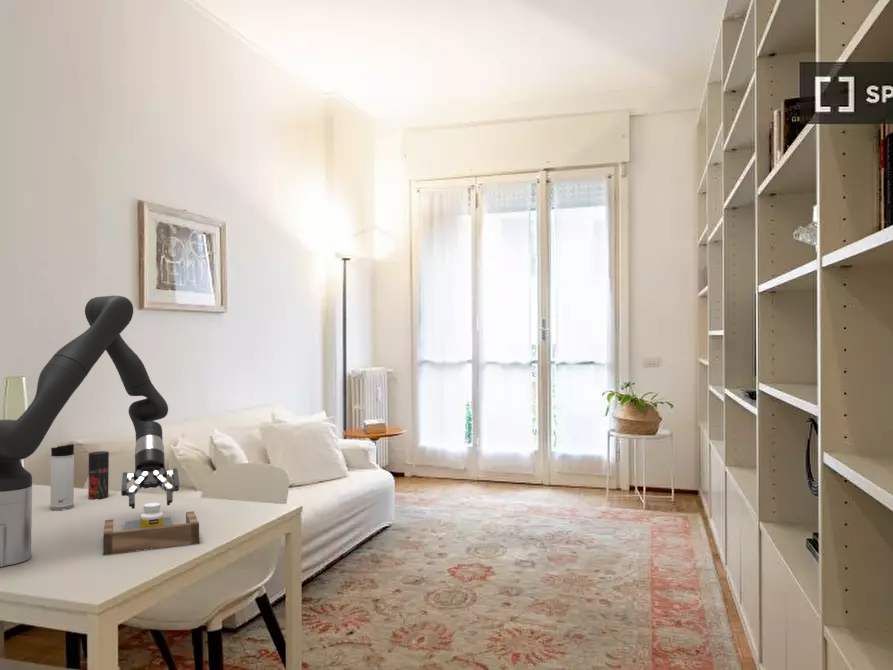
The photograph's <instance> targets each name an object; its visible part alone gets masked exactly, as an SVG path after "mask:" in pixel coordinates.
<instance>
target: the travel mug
mask: <svg viewBox="0 0 893 670" xmlns="http://www.w3.org/2000/svg"><path fill="white" fill-rule="evenodd" d="M74 450H75V445H74V443H72V444H66V445H60V446H59V445H58V446H57V447H51V448H50V451H51V452H50V453H51V454H50V455H51V456H50V457H51V458H50V510H51V509H52V510H51V511H55V510H59V511H63V510H62V509H67V510H69V508H71V509H73V508H74V502H75V501H74V499H75V497H74V496H75V495H74V494H75V493H74V488H75V487H74V486H75V485H74V484H75V482H74V481H75V478H74V477H75V452H74ZM72 507H73V508H72Z"/></svg>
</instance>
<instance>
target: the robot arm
mask: <svg viewBox="0 0 893 670" xmlns="http://www.w3.org/2000/svg"><path fill="white" fill-rule="evenodd" d="M84 315H85V319H86V321H87V323H88V324H89V326H90V327H88V329H86V330H85V331H84V332H82V333H81V334H79V335H78V336H77V337H75V338H74V339H72V340H71V341H69V342H68V343H66V344H65V345H63V346H62V347H61V348H60V349H58V350H57V351H56V352H55V353H54V354H53V356H52V357H51V358H50V359H49V360H48V362H47V363H46V364H45V365H44V367H43V368H42V370H41V372H40V373H39V376H38V379H37V384H36V385H37V386H36V392H35V395H34V398H33V400H32V401H31V404H30V405H29V406H28V407H27V409H26V410H25V411H24V412H23V413H22V415H20V417H18V418H17V419H0V568H4V567H6V566H10V565H17V564H20V563H23V562H26V561H27V560H28V561H29V559H31V558H32V534H33V533H32V525H33V524H32V523H33V522H32V520H33V518H32V516H33V512H32V511H33V475H32V473H31V472H30V471H28V470H27V469H26V468H24V466H23V464H22V462H21V460H24V459H27V458H29V457H30V456H32V455H33V454H34V453H35V452H36V450H37V449H38V448H39V446H41V444H42V442H43V441H44V438H45V436H47V433H48V432H49V430H50V428H51V427H52V425H53V423H54V422H55V420H56V418H57V417H58V415H59V414H60V412H61V411H62V410H63V408H64V406H65V405H66V404H67V403H68V401H69V400H70V398H71V397H72V396H73V394H74V393H75V391H76V390H77V389H78V388H79V387H80V385H81V384H82V383H83V381H84V380H85V378H86V377H87V376H88V374H89V373H90V372H91V370H92V369H93V368H94V366H95V364H96V363H97V362H98V361H99V359H101V357H102V356H103V354H104V353H105V351H106V353H107V355H109V357H110V359H111V361H112V362H113V364H114V366H115V369H116V371H117V372H118V375H119V378H120V380H121V383H122V385H123V388H124V390H125V392H126V393H127V395H128V396H131V397H145V398H143V399H140V400H136V401H134V402H132V403H131V404H130V405H129V408H128V416H129V419H130V420H131V423H132V425H133V427H134V431H135V447H134V472H133V473H128V472H126V471H123V472H122V476H121V478H122V480H121V488H120V489H121V490H120V491H121V493H120V494H121V496H123V497H125V496H126V497H128V506H129V508H131V509H135V508H136V504H135V503H136V498H135V497H136V494H137V493H139V492H140V491H141V490H142V488H143V489H144V490H145V489H149V488H152V489H153V488H157V487H159V488H160V490H163V491H165V493H166V494H165V495H166V506H170V505H171V504H172V503H173V501H174V500H173V498H174V497H173V495H174V494H173V493H174V492H178V491H179V490H180V478H179V472H178V471H179V470H178V468H173V469H172V470H167V469H166V463H165V462H166V461H165V445H164V441H163V439H164V437H163V427H162V425H161V424H160V423H159V422H157V421H158V420H161V419H164V418H166V417H167V416H168V413H169V405H168V402H167V401H166V400H165V398H164V397H163V396H162V394H161V393H160V392H159V391H158V390H157V388H156V387H155V386H154V384H153V383H152V380H151V379H150V376H149V374H148V371H147V369H146V366H145V364H144V363H143V361H142V359H141V358H140V357H139V356H138V355H137V354H136V353H135V352H134V350H132V348H131V347H130V346H129V344H127V342H125V340H124V339H123V337H122V336H121V333H123V331H124V330H125V329H126V328H127V326H129V324H130V322H131V321H132V318H133V315H134V305H133V302H132V301H131V299H129V298H127V297H125V296H122V295H105V296H96V297H93V298H92V297H91V299H90V300H88V301H87V302H86V304H85V307H84ZM167 477H168V478H170V479H171V480H172V483H173V484H171V483H169V481H168V480H167V479H166V478H167ZM131 480H134V483H133V485H132V486H131V487H130V488H128V484H129V483H130V482H131Z"/></svg>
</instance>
